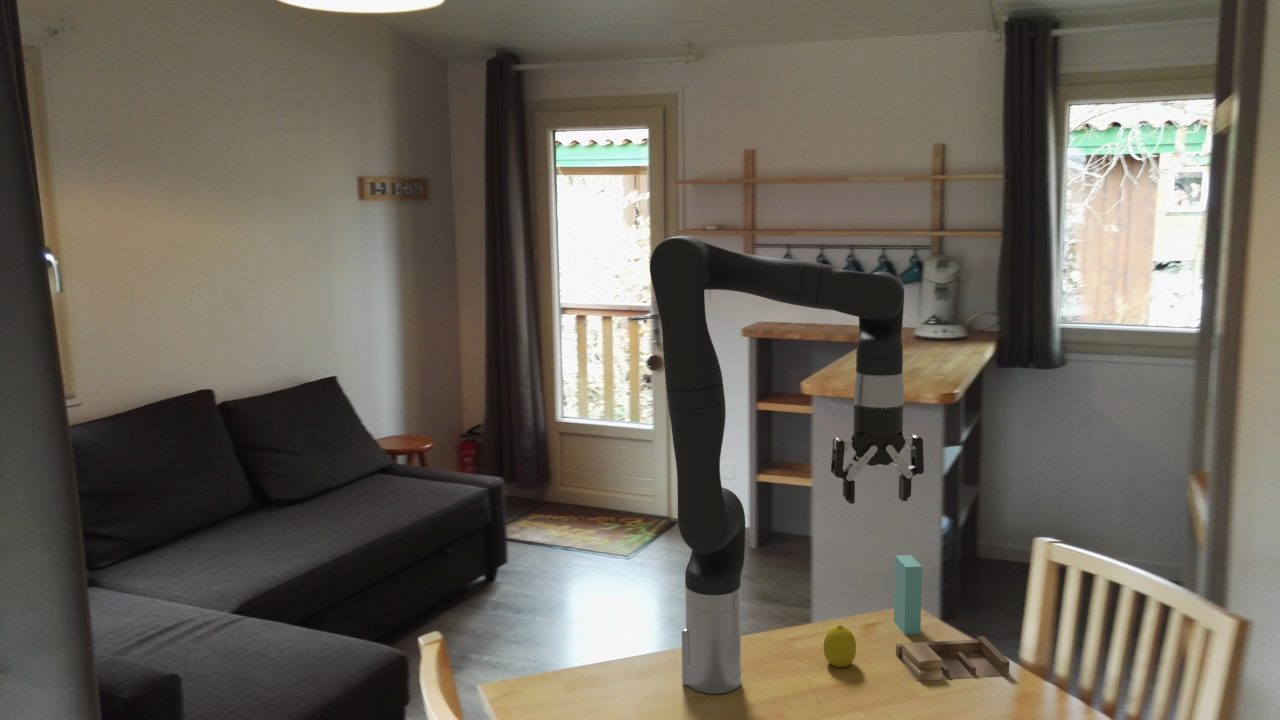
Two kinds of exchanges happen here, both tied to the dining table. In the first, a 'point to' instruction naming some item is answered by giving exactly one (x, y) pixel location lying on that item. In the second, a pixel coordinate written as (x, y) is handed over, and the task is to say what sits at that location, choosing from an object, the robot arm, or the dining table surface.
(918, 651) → the offcut upper
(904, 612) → the teal rectangular block
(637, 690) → the dining table surface
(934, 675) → the offcut lower
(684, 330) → the robot arm
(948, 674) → the rack
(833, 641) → the lemon
